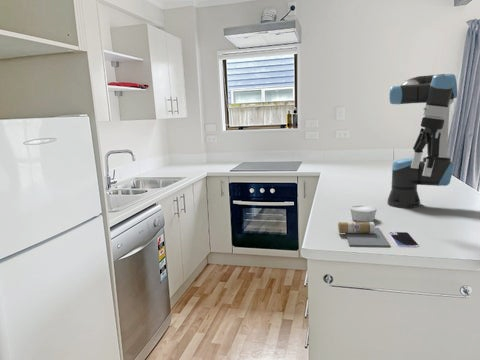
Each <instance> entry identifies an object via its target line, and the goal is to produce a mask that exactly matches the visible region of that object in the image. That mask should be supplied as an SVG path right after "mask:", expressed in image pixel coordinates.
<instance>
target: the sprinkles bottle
mask: <svg viewBox="0 0 480 360" xmlns="http://www.w3.org/2000/svg"><path fill="white" fill-rule="evenodd" d="M337 225H338V228H337V229H338V233H339V234H345V233H368V234H374V233H375V228H376V227H375V226H376V225H375V222H374V221H371V222H358V221H350V222H348V221H347V222H341V221H339V222H338V224H337Z"/></svg>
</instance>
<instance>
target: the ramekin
mask: <svg viewBox="0 0 480 360" xmlns="http://www.w3.org/2000/svg"><path fill="white" fill-rule="evenodd" d="M349 209H350V215H351V218H352V220H353V221H354V222H364V223H367V222H374V220H375V219H376V213H377V208H376V207H374V206H371V205H361V204H360V205H352V206H350V208H349Z"/></svg>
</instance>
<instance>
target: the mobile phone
mask: <svg viewBox="0 0 480 360" xmlns="http://www.w3.org/2000/svg"><path fill="white" fill-rule="evenodd" d="M387 235H389V237H390V238H391V240H392V241H393V243H394V244H395V246H397V247H399V248H419V247H420V244H419V243H418V242H417V241H416V240H415V239H414V238H413V236H412V235H411V234H410V233H409V232H406V231H405V232H404V231H403V232H401V231H391V232H388V234H387Z"/></svg>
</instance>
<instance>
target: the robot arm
mask: <svg viewBox="0 0 480 360" xmlns="http://www.w3.org/2000/svg"><path fill="white" fill-rule="evenodd" d="M457 97H458V83H457V78H456V75H455V74H453V73H442V74H429V75H420V76H418V75H417V76H414V77H411V78H408V79H407V80H404V81H403V82H402V83H401V84H400V85H399V84H398V85H393V86H391V87H390V88H389V103H390V105H409V104H425V107H423V117H422V119H421V123H420V127H421V128H420V131H419V134H418V136H417V138H416V141H415V143H414V145H413V147H412V149H413V150H414V152H413V157H409V158H401V159H396V160H394V161H393V163H392V169H391V171H392V172H391V190H390V192H389V195H388V198H387V205H389V206H391V207H395V208H403V209H408V208H409V209H410V208H417V207H419V206H421V199H420V195H419V193H418V185H419V186H434V187H436V186H437V187H442V186H443V187H446V186H449V184H451V180H452V177H453V176H452V175H453V172H454V171H453V170H454V165H455V162H453V161H451V157H450V156H449V155H448V145H449V125H450V106H451V105H452V103H454V99H456V98H457ZM426 145H427V146H426ZM425 147H427V149H426V155H425V156H424V157H423V158H422V155H423V153H424V152H423V151H424V149H425ZM421 160H422V161H421Z"/></svg>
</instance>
